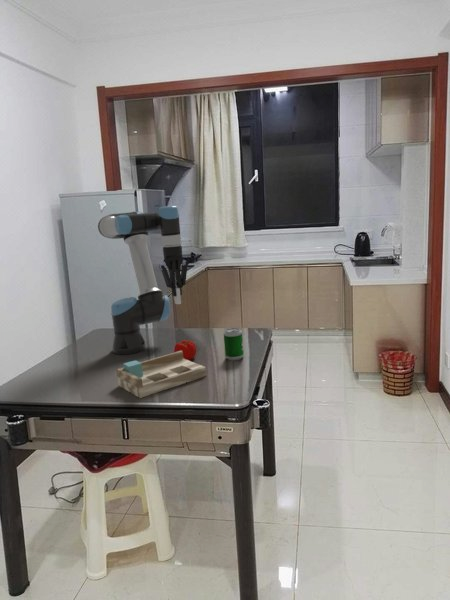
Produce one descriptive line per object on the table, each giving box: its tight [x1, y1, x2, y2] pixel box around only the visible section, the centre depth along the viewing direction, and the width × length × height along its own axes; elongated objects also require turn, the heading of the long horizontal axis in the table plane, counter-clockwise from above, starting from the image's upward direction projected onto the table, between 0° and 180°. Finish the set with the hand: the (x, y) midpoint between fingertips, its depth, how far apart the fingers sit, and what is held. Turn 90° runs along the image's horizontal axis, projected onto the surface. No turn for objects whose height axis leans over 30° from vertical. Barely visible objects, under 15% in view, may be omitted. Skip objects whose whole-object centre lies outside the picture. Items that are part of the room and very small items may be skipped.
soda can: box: [223, 327, 244, 361], centre depth 208 cm, size 8×8×12 cm
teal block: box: [122, 359, 143, 377], centre depth 186 cm, size 5×5×5 cm
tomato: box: [173, 339, 197, 361], centre depth 212 cm, size 9×9×8 cm
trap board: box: [116, 351, 207, 399], centre depth 189 cm, size 17×28×6 cm, turn 127°
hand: (178, 303), depth 206 cm, fingers closed
